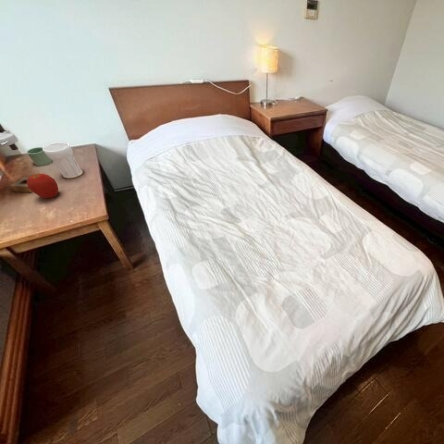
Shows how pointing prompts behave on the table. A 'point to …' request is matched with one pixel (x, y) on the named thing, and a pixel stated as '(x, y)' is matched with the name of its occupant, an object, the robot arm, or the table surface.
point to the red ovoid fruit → (43, 185)
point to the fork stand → (21, 185)
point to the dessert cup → (38, 156)
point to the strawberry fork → (12, 146)
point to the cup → (63, 159)
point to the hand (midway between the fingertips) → (4, 131)
